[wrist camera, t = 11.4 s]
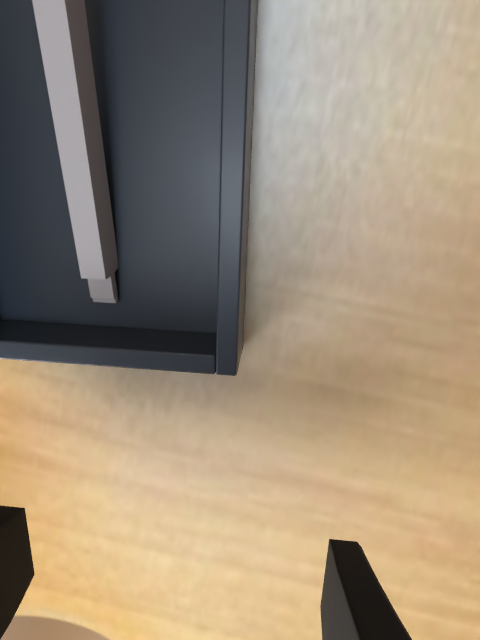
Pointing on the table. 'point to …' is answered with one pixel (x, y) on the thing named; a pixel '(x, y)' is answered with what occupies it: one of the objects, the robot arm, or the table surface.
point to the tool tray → (133, 188)
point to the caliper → (79, 139)
